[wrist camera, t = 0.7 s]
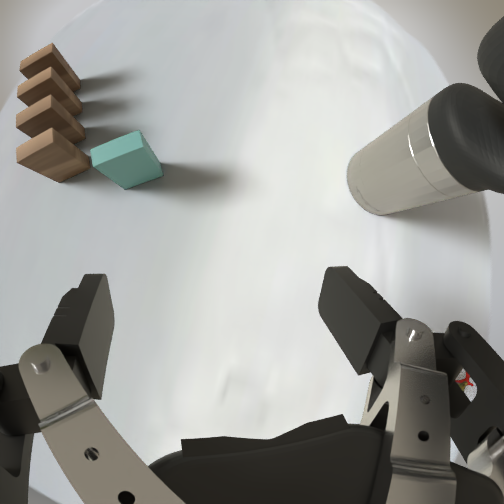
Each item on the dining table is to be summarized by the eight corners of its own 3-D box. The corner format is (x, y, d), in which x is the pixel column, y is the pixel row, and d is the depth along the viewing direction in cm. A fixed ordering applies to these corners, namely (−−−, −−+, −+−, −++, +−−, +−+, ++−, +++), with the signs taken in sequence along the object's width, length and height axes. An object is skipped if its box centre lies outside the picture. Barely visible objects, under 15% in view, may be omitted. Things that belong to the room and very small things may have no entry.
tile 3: (54, 142, 32) (16, 114, 22) (84, 127, 32) (50, 94, 23) (55, 153, 32) (16, 127, 22) (85, 138, 33) (50, 106, 23)
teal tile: (122, 176, 33) (90, 149, 23) (159, 162, 34) (139, 129, 24) (125, 189, 33) (93, 166, 23) (163, 175, 34) (143, 146, 24)
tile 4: (52, 116, 32) (17, 86, 22) (81, 102, 32) (51, 66, 22) (53, 126, 32) (17, 97, 22) (82, 112, 32) (50, 77, 22)
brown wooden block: (52, 93, 32) (20, 61, 22) (79, 79, 32) (52, 42, 22) (52, 102, 32) (19, 70, 22) (80, 88, 32) (52, 51, 22)
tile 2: (57, 170, 32) (16, 148, 22) (88, 156, 33) (51, 127, 23) (59, 182, 32) (16, 162, 22) (90, 168, 33) (52, 142, 23)
